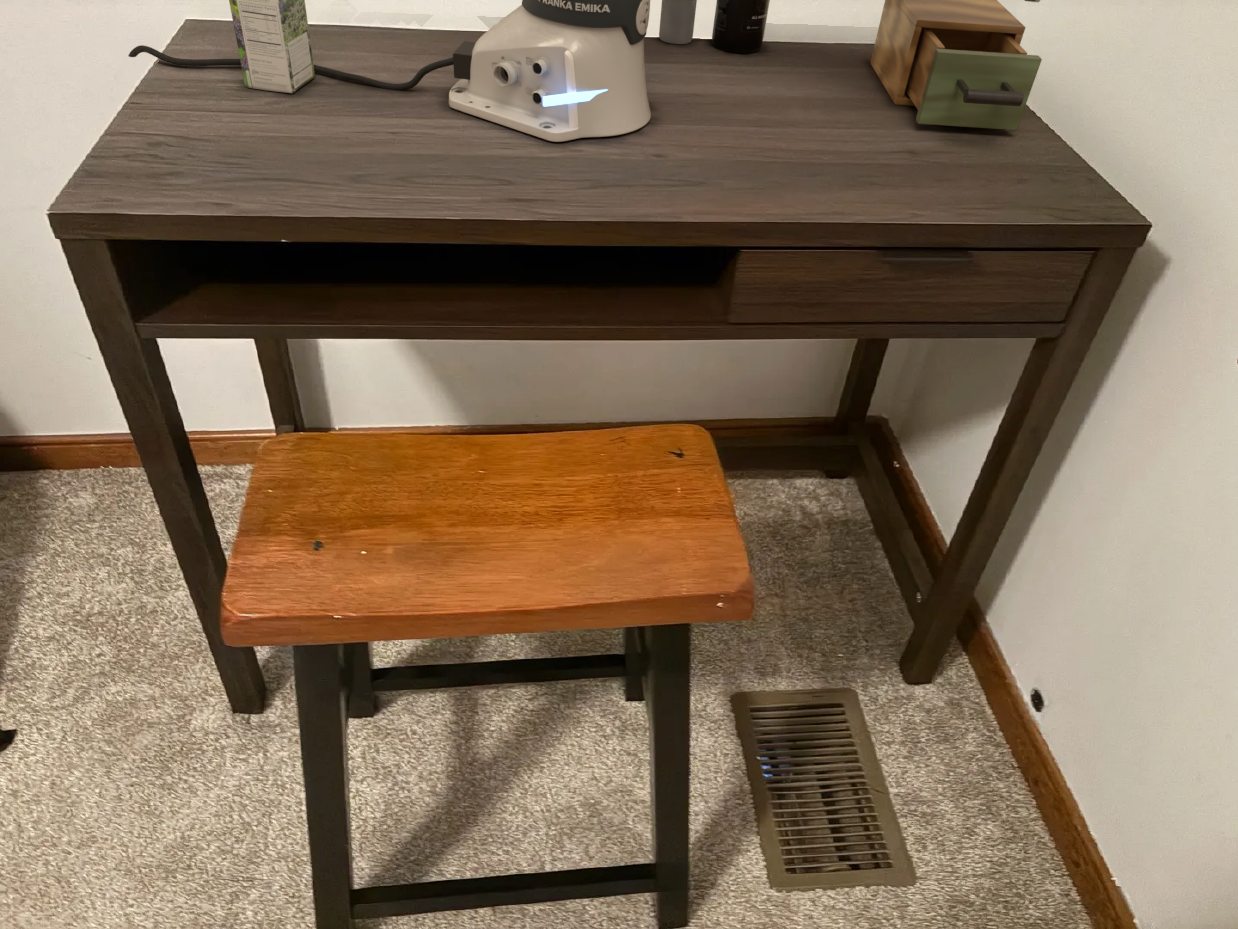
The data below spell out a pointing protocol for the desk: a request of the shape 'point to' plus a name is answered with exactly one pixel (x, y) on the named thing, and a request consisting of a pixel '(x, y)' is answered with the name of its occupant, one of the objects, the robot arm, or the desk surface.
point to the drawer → (970, 79)
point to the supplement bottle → (740, 25)
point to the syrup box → (273, 43)
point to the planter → (677, 21)
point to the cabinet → (929, 5)
